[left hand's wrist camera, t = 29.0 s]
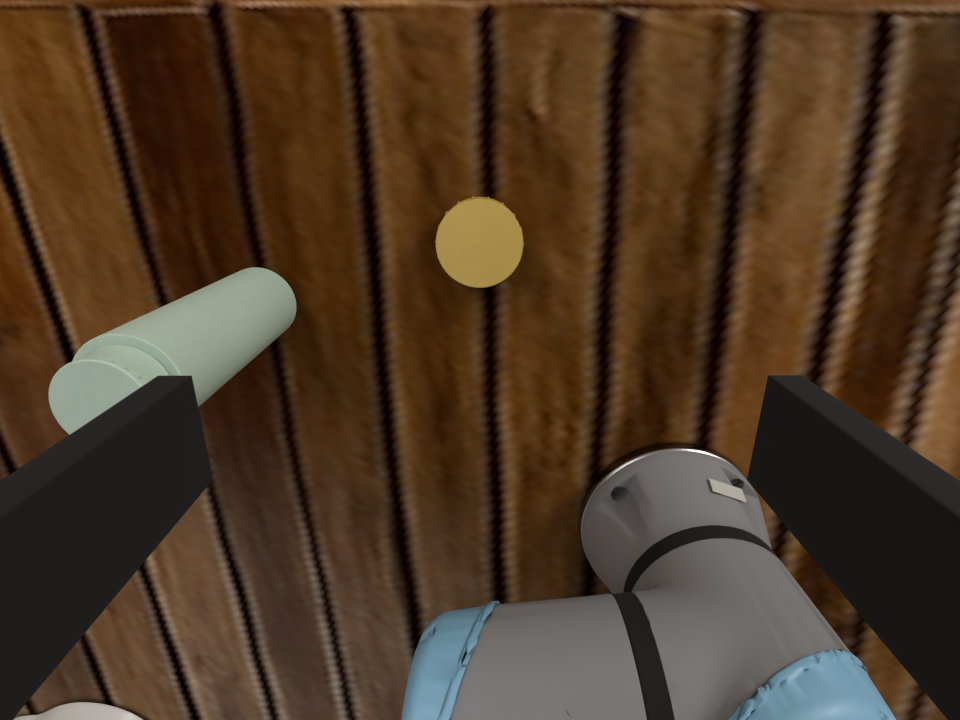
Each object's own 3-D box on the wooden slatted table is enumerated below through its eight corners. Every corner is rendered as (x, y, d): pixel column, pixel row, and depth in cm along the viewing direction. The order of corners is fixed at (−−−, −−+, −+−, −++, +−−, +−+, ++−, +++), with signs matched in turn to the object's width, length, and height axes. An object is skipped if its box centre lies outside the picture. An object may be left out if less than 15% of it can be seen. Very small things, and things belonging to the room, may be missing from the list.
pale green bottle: (290, 345, 42) (158, 474, 25) (220, 326, 42) (35, 444, 24) (302, 279, 40) (168, 368, 23) (229, 258, 40) (36, 333, 22)
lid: (515, 189, 38) (518, 191, 36) (526, 275, 40) (528, 282, 38) (430, 202, 38) (427, 205, 36) (445, 287, 40) (443, 294, 38)
